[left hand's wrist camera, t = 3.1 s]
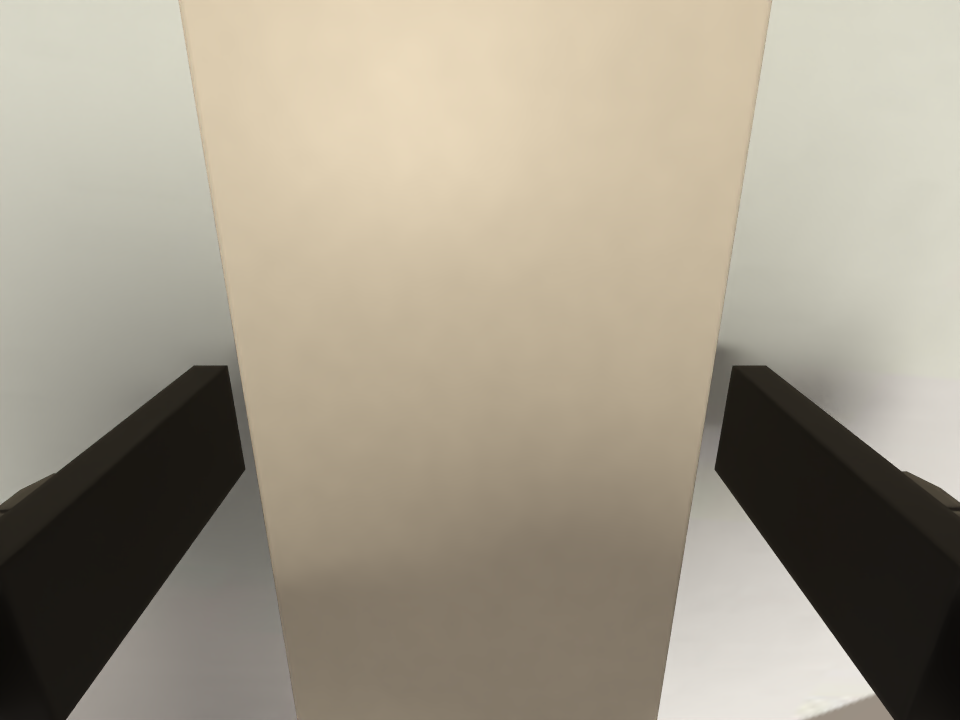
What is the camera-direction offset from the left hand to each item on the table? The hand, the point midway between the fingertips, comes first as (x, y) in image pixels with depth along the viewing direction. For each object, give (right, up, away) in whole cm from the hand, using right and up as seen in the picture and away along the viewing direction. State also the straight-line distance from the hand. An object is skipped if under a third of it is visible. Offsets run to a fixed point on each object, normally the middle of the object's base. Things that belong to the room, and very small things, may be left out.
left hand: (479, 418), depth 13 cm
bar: (0, +18, -5) cm, 19 cm away
